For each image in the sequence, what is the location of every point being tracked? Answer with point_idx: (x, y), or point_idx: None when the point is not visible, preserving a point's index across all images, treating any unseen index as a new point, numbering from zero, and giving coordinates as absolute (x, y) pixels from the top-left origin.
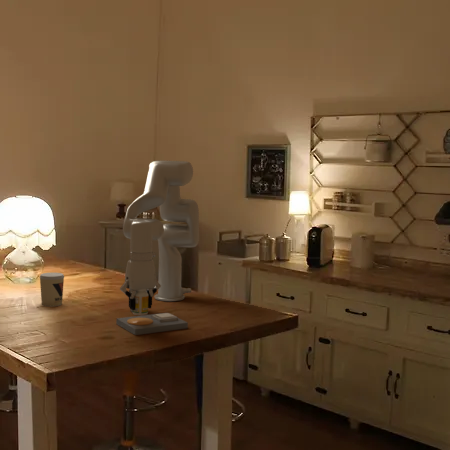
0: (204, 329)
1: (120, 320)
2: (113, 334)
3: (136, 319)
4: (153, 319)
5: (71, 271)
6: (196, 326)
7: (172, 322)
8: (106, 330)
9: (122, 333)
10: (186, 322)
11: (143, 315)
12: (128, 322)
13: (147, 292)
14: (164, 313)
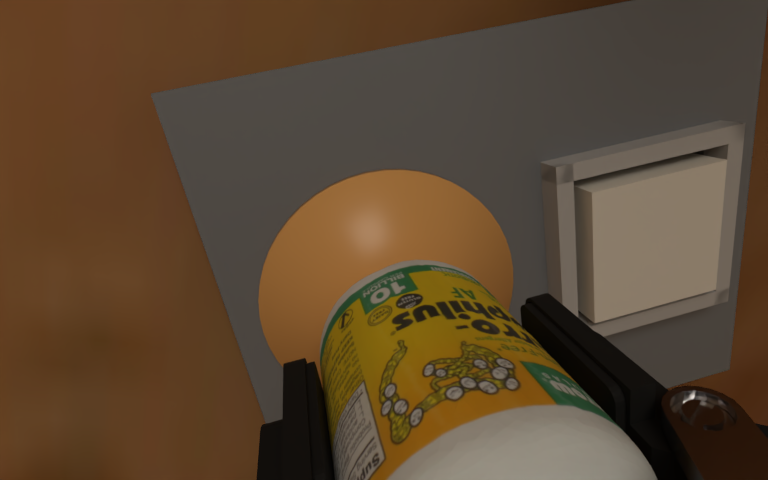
0: (763, 384)
1: (194, 202)
2: (118, 430)
3: (368, 242)
4: (534, 230)
5: None
6: (765, 310)
7: (635, 350)
8: (50, 309)
9: (199, 412)
10: (723, 365)
11: (498, 33)
12: (265, 335)
13: (691, 476)
14: (688, 175)
